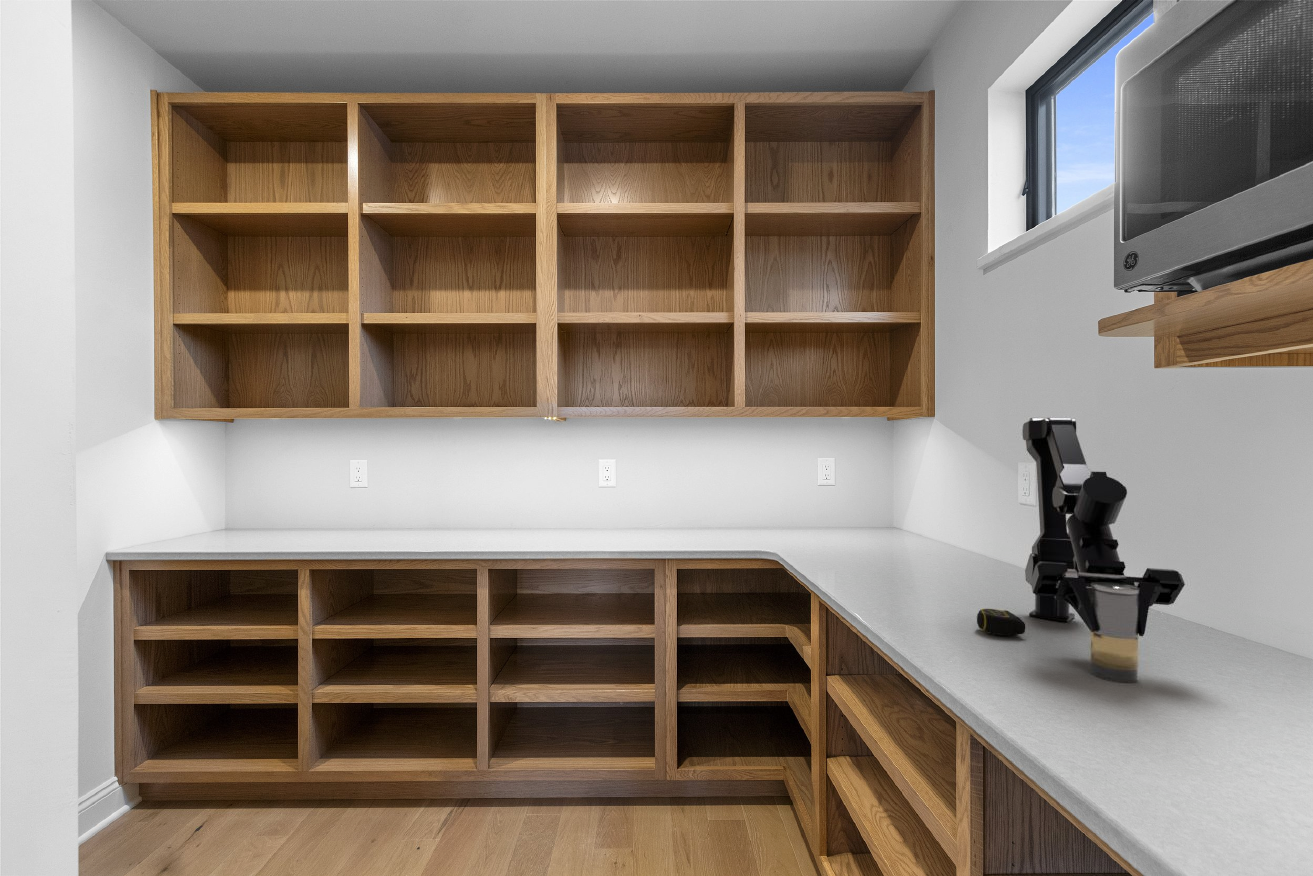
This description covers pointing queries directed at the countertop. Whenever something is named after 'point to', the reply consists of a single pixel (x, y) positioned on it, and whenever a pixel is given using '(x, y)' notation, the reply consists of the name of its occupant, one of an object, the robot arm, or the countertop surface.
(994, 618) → the tape measure
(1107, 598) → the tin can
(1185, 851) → the countertop surface
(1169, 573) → the robot arm
